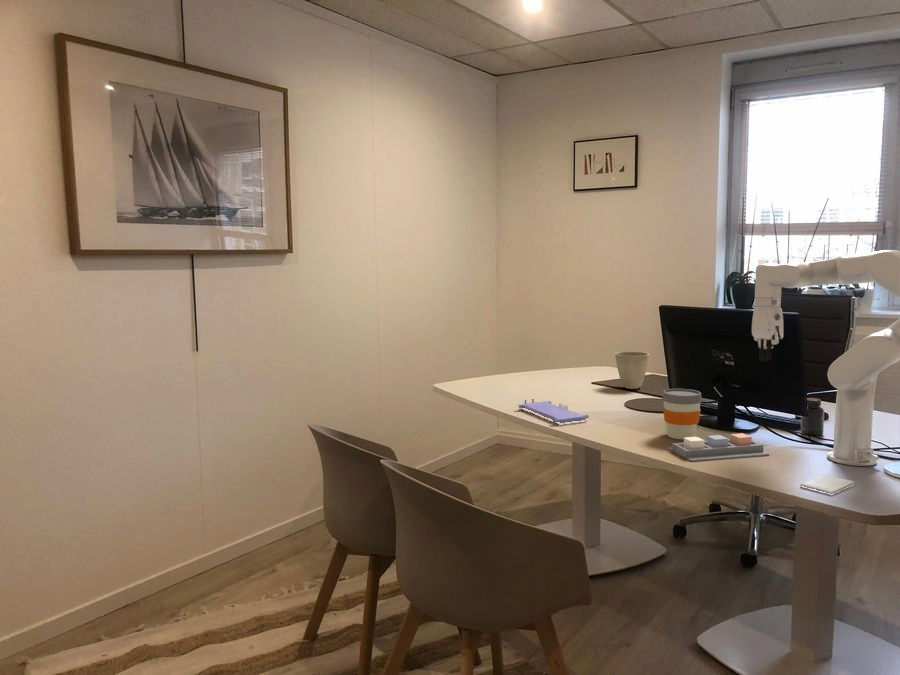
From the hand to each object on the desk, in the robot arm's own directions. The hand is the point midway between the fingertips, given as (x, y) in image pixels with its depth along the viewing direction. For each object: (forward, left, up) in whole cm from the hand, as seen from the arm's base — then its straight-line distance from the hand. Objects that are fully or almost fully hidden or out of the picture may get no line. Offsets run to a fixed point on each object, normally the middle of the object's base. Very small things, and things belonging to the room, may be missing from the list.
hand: (765, 360), depth 220 cm
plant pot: (+94, 0, -27) cm, 98 cm away
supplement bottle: (+6, -23, -27) cm, 36 cm away
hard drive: (-40, +9, -28) cm, 49 cm away
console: (-5, +19, -27) cm, 33 cm away
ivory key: (-5, +27, -25) cm, 37 cm away
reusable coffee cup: (+15, +20, -27) cm, 37 cm away
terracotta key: (-5, +11, -25) cm, 28 cm away
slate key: (-5, +19, -25) cm, 32 cm away
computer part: (+54, +52, -28) cm, 80 cm away
